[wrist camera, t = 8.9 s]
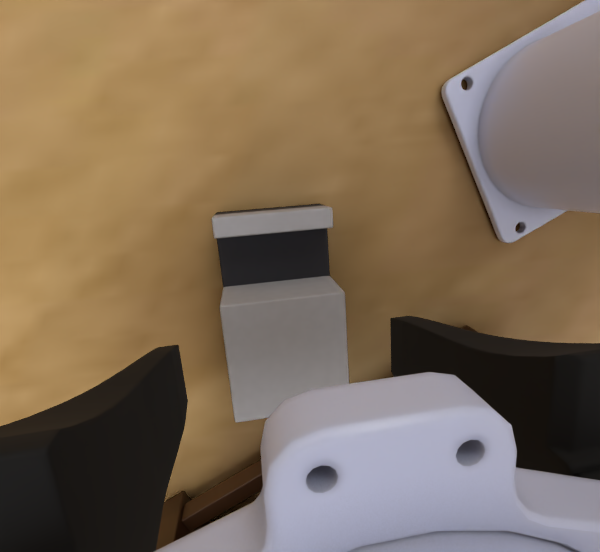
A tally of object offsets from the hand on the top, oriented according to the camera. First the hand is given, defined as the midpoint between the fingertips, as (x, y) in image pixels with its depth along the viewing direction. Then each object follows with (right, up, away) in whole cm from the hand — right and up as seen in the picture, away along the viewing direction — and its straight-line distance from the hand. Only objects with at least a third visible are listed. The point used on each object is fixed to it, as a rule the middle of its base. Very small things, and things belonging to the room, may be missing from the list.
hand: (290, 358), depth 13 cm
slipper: (-1, +2, +5) cm, 5 cm away
